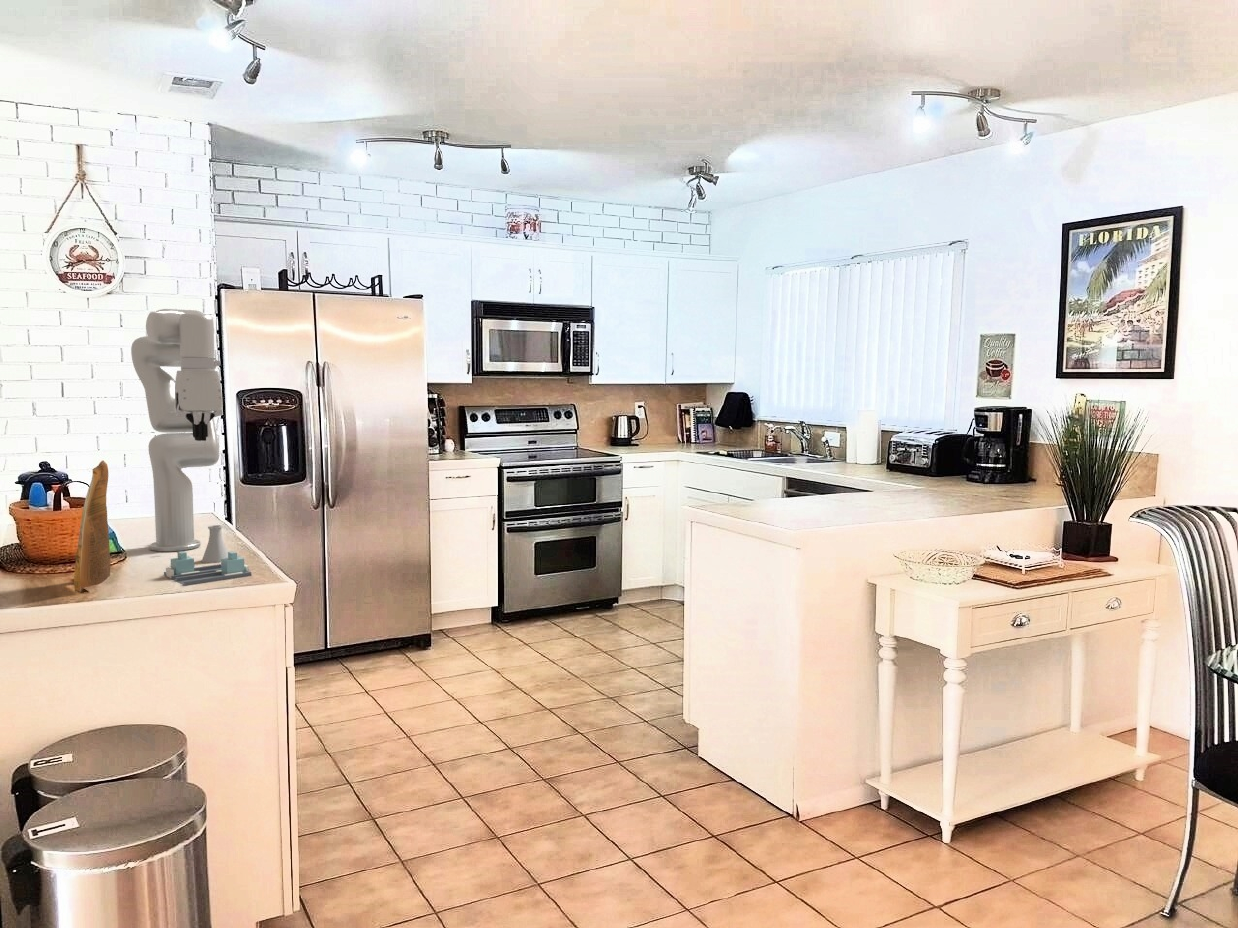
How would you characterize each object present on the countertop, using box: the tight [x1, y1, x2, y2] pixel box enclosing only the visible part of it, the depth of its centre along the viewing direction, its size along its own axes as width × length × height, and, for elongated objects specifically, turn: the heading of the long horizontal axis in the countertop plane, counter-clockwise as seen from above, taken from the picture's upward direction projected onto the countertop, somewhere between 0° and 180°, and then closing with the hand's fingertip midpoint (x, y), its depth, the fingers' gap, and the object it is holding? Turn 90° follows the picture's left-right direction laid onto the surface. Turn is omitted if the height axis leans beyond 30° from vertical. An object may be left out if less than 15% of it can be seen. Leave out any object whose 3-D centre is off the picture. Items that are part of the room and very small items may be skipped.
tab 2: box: [220, 550, 245, 576], centre depth 210 cm, size 4×4×6 cm
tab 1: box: [170, 550, 195, 575], centre depth 209 cm, size 4×4×6 cm
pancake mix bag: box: [73, 460, 111, 594], centre depth 203 cm, size 7×19×28 cm, turn 16°
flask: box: [201, 524, 229, 564], centre depth 226 cm, size 7×7×10 cm
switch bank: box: [163, 563, 253, 587], centre depth 210 cm, size 14×15×3 cm
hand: (200, 440), depth 219 cm, fingers closed
